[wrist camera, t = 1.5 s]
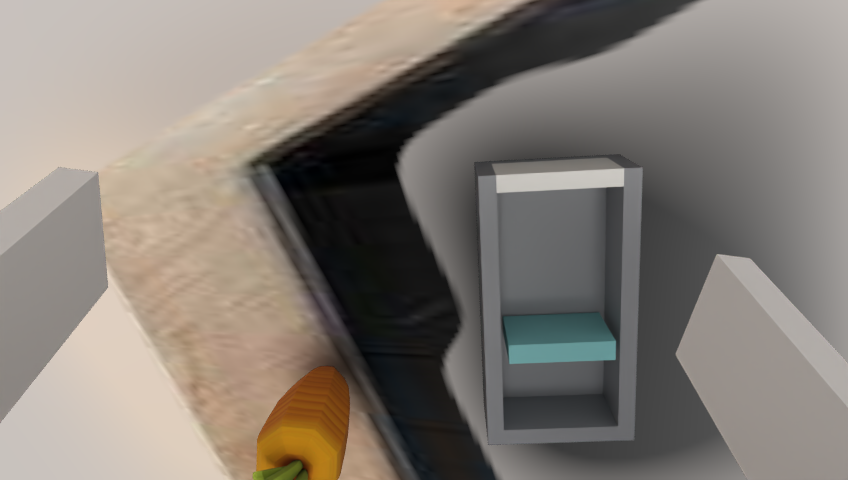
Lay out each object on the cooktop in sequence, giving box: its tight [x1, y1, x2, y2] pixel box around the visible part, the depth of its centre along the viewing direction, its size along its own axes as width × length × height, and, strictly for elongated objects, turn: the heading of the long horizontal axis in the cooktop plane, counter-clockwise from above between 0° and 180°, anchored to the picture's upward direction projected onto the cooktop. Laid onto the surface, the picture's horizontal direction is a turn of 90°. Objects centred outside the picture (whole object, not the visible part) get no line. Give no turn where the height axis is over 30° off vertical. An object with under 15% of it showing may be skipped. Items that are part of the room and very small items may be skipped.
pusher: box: [503, 312, 616, 364], centre depth 40 cm, size 1×6×4 cm, turn 93°
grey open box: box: [475, 154, 643, 445], centre depth 40 cm, size 17×9×5 cm, turn 3°
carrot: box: [253, 366, 350, 480], centre depth 38 cm, size 5×5×15 cm
